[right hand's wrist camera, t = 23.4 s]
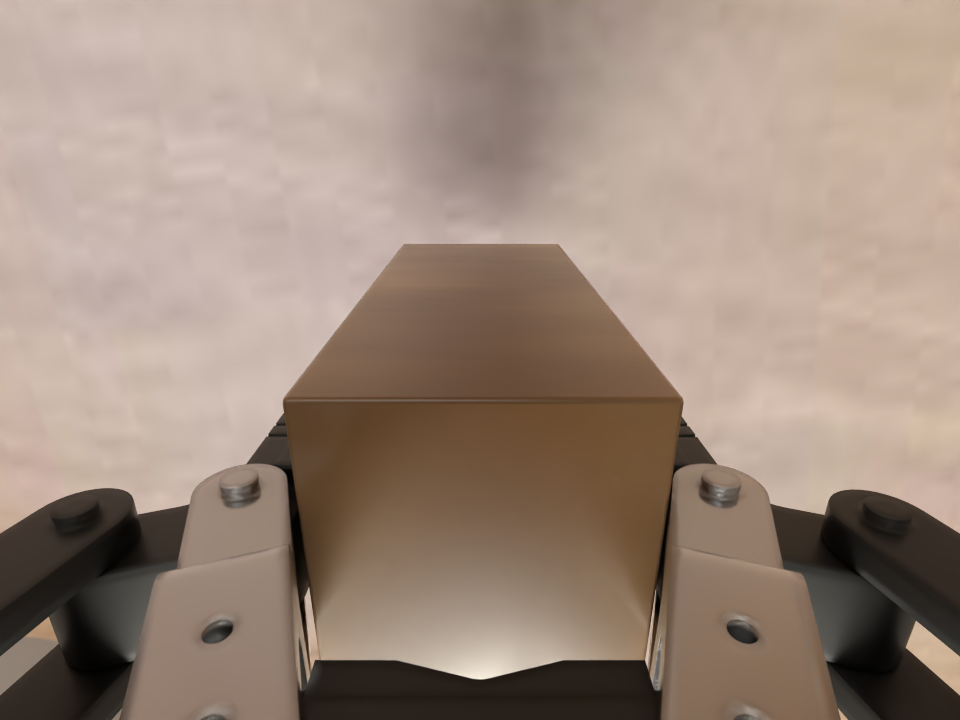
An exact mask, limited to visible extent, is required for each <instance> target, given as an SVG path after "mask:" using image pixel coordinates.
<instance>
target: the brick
mask: <svg viewBox="0 0 960 720" xmlns="http://www.w3.org/2000/svg"><path fill="white" fill-rule="evenodd" d="M683 403H684V402H683V398H682V397H681V396H680V394H679V393H678V392H677V391H676V390H675V388H674V387H673V386H672V385H671V383H670V382H669V381H668V380H667V378H666V377H665V376H664V375H663V373H662V372H661V371H660V370H659V368H658V367H657V366H656V365H655V363H654V362H653V361H652V360H651V359H650V357H649V356H648V355H647V354H646V352H645V351H644V350H643V349H642V347H641V346H640V345H639V344H638V342H637V341H636V340H635V339H634V337H633V336H632V335H631V334H630V332H629V331H628V330H627V329H626V328H625V326H624V325H623V324H622V323H621V321H620V320H619V319H618V318H617V316H616V315H615V314H614V313H613V311H612V310H611V309H610V308H609V306H608V305H607V304H606V303H605V301H604V300H603V299H602V298H601V297H600V295H599V294H598V293H597V292H596V290H595V289H594V288H593V287H592V285H591V284H590V283H589V282H588V280H587V279H586V278H585V277H584V275H583V274H582V273H581V272H580V270H579V269H578V268H577V267H576V266H575V264H574V263H573V262H572V261H571V259H570V258H569V257H568V256H567V254H566V253H565V252H564V251H563V249H562V248H561V247H560V246H559V245H558V244H404V245H403V246H402V247H401V248H400V250H399V251H398V252H397V254H396V255H395V256H394V257H393V259H392V260H391V261H390V263H389V264H388V265H387V266H386V268H385V269H384V270H383V272H382V273H381V274H380V275H379V277H378V278H377V279H376V281H375V282H374V283H373V284H372V286H371V287H370V288H369V289H368V291H367V292H366V293H365V295H364V296H363V297H362V298H361V300H360V301H359V302H358V304H357V305H356V306H355V307H354V309H353V310H352V311H351V313H350V314H349V315H348V316H347V318H346V319H345V320H344V322H343V323H342V324H341V325H340V327H339V328H338V329H337V331H336V332H335V333H334V334H333V336H332V337H331V338H330V339H329V341H328V342H327V343H326V345H325V346H324V347H323V348H322V350H321V351H320V352H319V354H318V355H317V356H316V357H315V359H314V360H313V361H312V363H311V364H310V365H309V366H308V368H307V369H306V370H305V372H304V373H303V374H302V375H301V377H300V378H299V379H298V380H297V382H296V383H295V384H294V386H293V387H292V388H291V389H290V391H289V392H288V393H287V395H286V396H285V397H284V399H283V408H284V415H285V422H286V429H287V436H288V443H289V450H290V457H291V464H292V471H293V477H294V484H295V491H296V498H297V505H298V512H299V519H300V526H301V533H302V540H303V547H304V554H305V560H306V567H307V574H308V581H309V588H310V595H311V602H312V609H313V616H314V623H315V630H316V636H317V643H318V650H319V657H320V660H398V661H402V662H406V663H410V664H414V665H418V666H422V667H427V668H431V669H435V670H439V671H443V672H447V673H451V674H455V675H459V676H463V677H468V678H472V679H488V678H492V677H497V676H501V675H505V674H509V673H513V672H517V671H521V670H525V669H529V668H533V667H538V666H542V665H546V664H550V663H554V662H558V661H562V660H645V657H646V650H647V643H648V636H649V630H650V623H651V616H652V610H653V603H654V596H655V590H656V583H657V576H658V570H659V563H660V556H661V550H662V543H663V536H664V530H665V523H666V516H667V510H668V503H669V496H670V489H671V483H672V476H673V469H674V463H675V456H676V449H677V443H678V436H679V429H680V423H681V416H682V409H683Z"/></svg>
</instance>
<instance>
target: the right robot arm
mask: <svg viewBox="0 0 960 720" xmlns="http://www.w3.org/2000/svg"><path fill="white" fill-rule="evenodd" d="M308 588H309V581H308V574H307V567H306V560H305V554H304V547H303V540H302V533H301V526H300V519H299V512H298V505H297V498H296V491H295V484H294V477H293V471H292V464H291V457H290V450H289V443H288V436H287V429H286V422H285V415H284V414H283V415H282V416H281V418H280V419H279V420H278V422H277V423H276V426H274V427H273V429H272V430H271V431H270V433H269V436H268V437H266V438H265V439H264V441H263V442H262V444H261V445H260V446H259V448H258V449H257V450H256V452H255V453H254V454H253V456H252V457H251V459H250V460H249V461H248V463H247V464H245V465H239V466H235V467H231V468H228V469H225V470H222V471H220V472H217V473H215V474H213V475H211V476H210V477H208V478H206V479H205V480H204V481H202V482H201V483H200V484H199V485H198V486H197V487H196V488H195V490H194V491H193V493H192V496H191V500H190V504H189V505H185V506H181V507H176V508H171V509H165V510H160V511H155V512H149V513H144V514H139V515H138V514H137V511H136V507H135V503H134V500H133V497H132V495H130V494H129V493H128V492H126V491H124V490H120V489H113V488H102V489H93V490H88V491H83V492H79V493H75V494H72V495H69V496H66V497H64V498H61V499H59V500H56V501H54V502H52V503H50V504H48V505H46V506H44V507H43V508H41V509H39V510H38V511H36V512H34V513H33V514H31V515H29V516H28V517H26V518H25V519H23V520H21V521H20V522H18V523H17V524H15V525H13V526H12V527H10V528H9V529H7V530H5V531H4V532H2V533H1V534H0V656H1V655H2V654H3V653H5V652H6V651H7V650H8V649H10V648H11V647H12V646H13V645H14V644H16V643H17V642H18V641H19V640H21V639H22V638H23V637H24V636H25V635H27V634H28V633H29V632H30V631H32V630H33V629H34V628H35V627H36V626H38V625H39V624H40V623H41V622H43V621H44V620H45V619H46V618H47V617H49V618H50V621H51V624H52V626H53V629H54V632H55V634H56V637H57V640H58V642H59V644H58V645H57V646H56V647H55V648H54V649H53V650H51V651H50V652H49V653H48V654H47V655H46V656H45V657H43V658H42V659H41V660H40V661H39V662H38V663H37V664H36V665H34V666H33V667H32V668H31V669H30V670H29V671H28V672H26V673H25V674H24V675H23V676H22V677H21V678H20V679H19V680H17V681H16V682H15V683H14V684H13V685H12V686H11V687H9V688H8V689H7V690H6V691H5V692H4V693H3V694H2V695H0V720H112V719H113V718H114V716H115V715H116V714H117V713H118V712H119V711H120V710H121V709H122V711H121V715H120V719H119V720H841V719H840V715H839V711H838V709H839V710H840V711H841V712H842V713H843V714H844V715H845V716H846V718H847V719H848V720H960V695H958V694H957V693H956V692H955V691H954V690H953V689H952V688H951V687H949V686H948V685H947V684H946V683H945V682H944V681H943V680H941V679H940V678H939V677H938V676H937V675H936V674H935V673H934V672H932V671H931V670H930V669H929V668H928V667H927V666H926V665H924V664H923V663H922V662H921V661H920V660H919V659H918V658H917V657H915V656H914V655H913V654H912V653H911V652H910V651H909V650H908V649H906V645H907V643H908V640H909V637H910V635H911V632H912V629H913V627H914V624H915V622H916V621H917V622H919V623H920V624H921V625H922V626H924V627H925V628H926V629H927V630H928V631H930V632H931V633H932V634H933V635H935V636H936V637H937V638H938V639H939V640H941V641H942V642H943V643H944V644H945V645H947V646H948V647H949V648H950V649H952V650H953V651H954V652H955V653H956V654H958V655H959V656H960V534H959V533H958V532H956V531H955V530H953V529H951V528H950V527H948V526H947V525H945V524H943V523H942V522H940V521H939V520H937V519H935V518H934V517H932V516H931V515H929V514H927V513H926V512H924V511H922V510H921V509H919V508H917V507H915V506H913V505H911V504H909V503H907V502H905V501H902V500H900V499H897V498H895V497H892V496H889V495H885V494H881V493H877V492H872V491H866V490H844V491H840V492H837V493H835V494H833V495H832V496H831V497H830V499H829V502H828V505H827V509H826V512H825V515H821V514H816V513H811V512H805V511H800V510H795V509H790V508H785V507H780V506H776V505H773V504H770V500H769V496H768V493H767V491H766V490H765V488H764V487H763V486H762V485H761V484H760V483H759V482H758V481H756V480H755V479H754V478H752V477H750V476H749V475H747V474H745V473H743V472H740V471H738V470H735V469H732V468H729V467H725V466H721V465H717V463H716V462H715V461H714V459H713V458H712V457H711V455H710V454H709V453H708V451H707V450H706V449H705V447H704V446H703V445H702V443H701V442H700V441H699V439H698V438H697V437H695V434H694V432H693V431H692V430H691V428H690V427H689V426H687V423H686V422H685V420H684V419H683V418H682V416H681V423H680V429H679V436H678V443H677V449H676V456H675V463H674V469H673V476H672V483H671V489H670V496H669V503H668V510H667V516H666V523H665V530H664V536H663V543H662V550H661V556H660V563H659V570H658V576H657V583H656V595H655V602H654V609H653V618H652V629H651V640H650V650H649V661H648V669H647V665H646V662H645V660H562V661H558V662H554V663H550V664H546V665H542V666H538V667H533V668H529V669H525V670H521V671H517V672H513V673H509V674H505V675H501V676H497V677H492V678H488V679H472V678H468V677H463V676H459V675H455V674H451V673H447V672H443V671H439V670H435V669H431V668H427V667H422V666H418V665H414V664H410V663H406V662H402V661H398V660H315V662H314V665H313V669H312V661H311V650H310V640H309V629H308V618H307V609H306V602H305V595H306V593H307V590H308Z"/></svg>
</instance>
